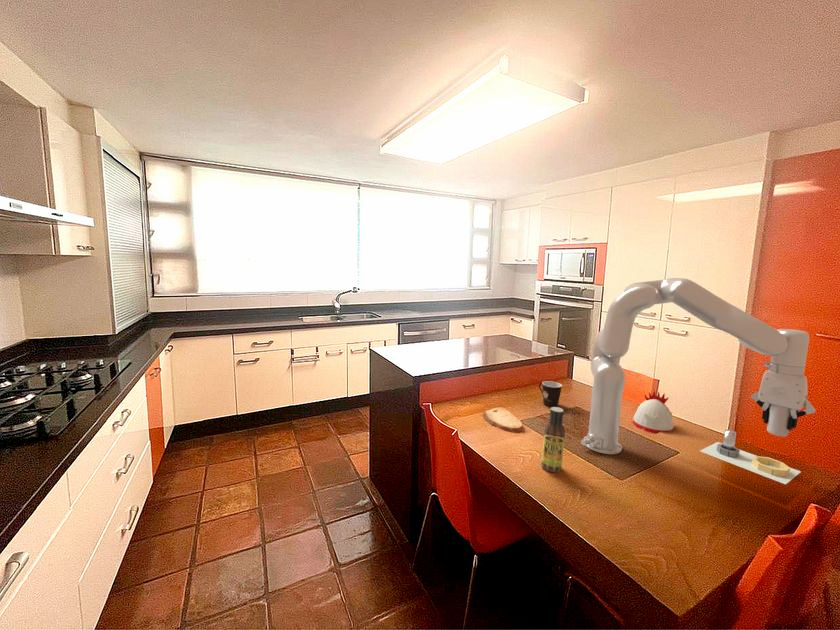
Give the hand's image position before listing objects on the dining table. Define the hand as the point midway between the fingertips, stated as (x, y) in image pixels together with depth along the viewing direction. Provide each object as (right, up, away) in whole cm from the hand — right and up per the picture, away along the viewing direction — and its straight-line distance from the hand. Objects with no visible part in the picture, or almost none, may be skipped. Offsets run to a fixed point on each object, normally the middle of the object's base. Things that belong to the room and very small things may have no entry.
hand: (778, 425), depth 113 cm
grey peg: (-6, -13, +12) cm, 19 cm away
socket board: (-3, -15, +7) cm, 17 cm away
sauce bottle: (-70, -15, +3) cm, 72 cm away
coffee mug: (-51, -8, +57) cm, 77 cm away
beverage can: (0, -3, 0) cm, 3 cm away
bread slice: (-78, -10, +37) cm, 87 cm away
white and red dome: (-17, -11, +35) cm, 40 cm away
